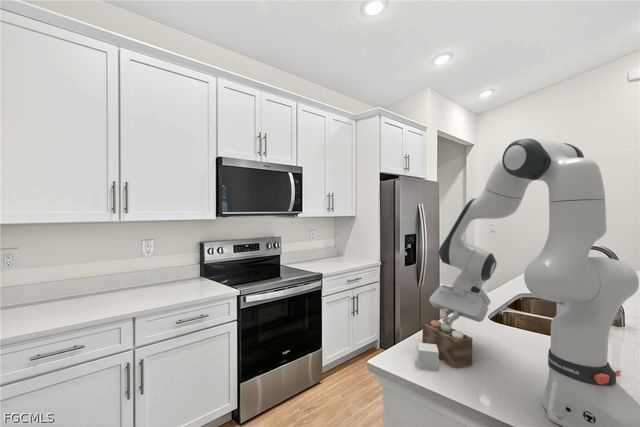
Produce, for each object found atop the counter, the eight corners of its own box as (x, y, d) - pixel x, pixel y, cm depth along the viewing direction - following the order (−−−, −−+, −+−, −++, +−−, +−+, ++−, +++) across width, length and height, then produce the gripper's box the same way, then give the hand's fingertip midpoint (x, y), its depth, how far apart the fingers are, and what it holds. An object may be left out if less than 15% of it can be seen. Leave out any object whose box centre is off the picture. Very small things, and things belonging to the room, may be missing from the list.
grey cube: (417, 360, 107) (417, 342, 107) (436, 362, 105) (436, 344, 105) (418, 368, 101) (418, 350, 101) (438, 371, 100) (438, 352, 99)
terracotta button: (442, 329, 113) (443, 322, 113) (435, 330, 112) (435, 324, 112) (436, 326, 117) (436, 319, 117) (428, 327, 115) (428, 320, 115)
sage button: (453, 332, 109) (453, 325, 108) (445, 333, 107) (445, 326, 107) (446, 329, 112) (446, 322, 112) (438, 330, 111) (438, 323, 110)
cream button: (465, 341, 104) (465, 333, 104) (457, 342, 102) (457, 335, 102) (457, 337, 107) (457, 330, 107) (449, 338, 106) (449, 331, 106)
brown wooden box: (472, 365, 103) (472, 338, 103) (455, 368, 101) (455, 341, 101) (437, 345, 118) (438, 321, 118) (422, 347, 116) (422, 323, 116)
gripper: (436, 279, 122) (418, 308, 118) (487, 291, 105) (468, 326, 100) (444, 289, 125) (426, 318, 120) (495, 303, 107) (477, 337, 102)
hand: (446, 322), depth 110 cm, fingers closed
